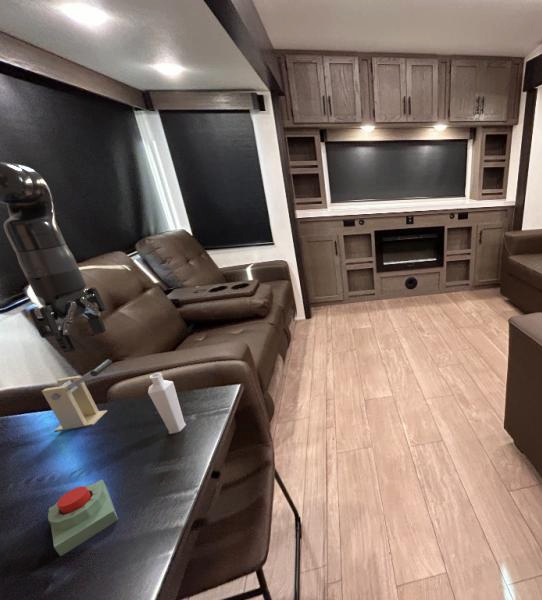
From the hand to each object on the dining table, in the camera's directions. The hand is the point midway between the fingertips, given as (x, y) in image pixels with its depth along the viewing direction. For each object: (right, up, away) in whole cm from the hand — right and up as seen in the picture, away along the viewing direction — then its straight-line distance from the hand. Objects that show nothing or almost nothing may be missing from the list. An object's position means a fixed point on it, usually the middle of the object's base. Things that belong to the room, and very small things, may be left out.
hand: (86, 341), depth 70 cm
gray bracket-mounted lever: (-4, -10, +4) cm, 12 cm away
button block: (+16, -28, -16) cm, 36 cm away
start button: (+15, -25, -17) cm, 34 cm away
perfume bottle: (+18, -21, +3) cm, 28 cm away
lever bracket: (-8, -21, +7) cm, 24 cm away
